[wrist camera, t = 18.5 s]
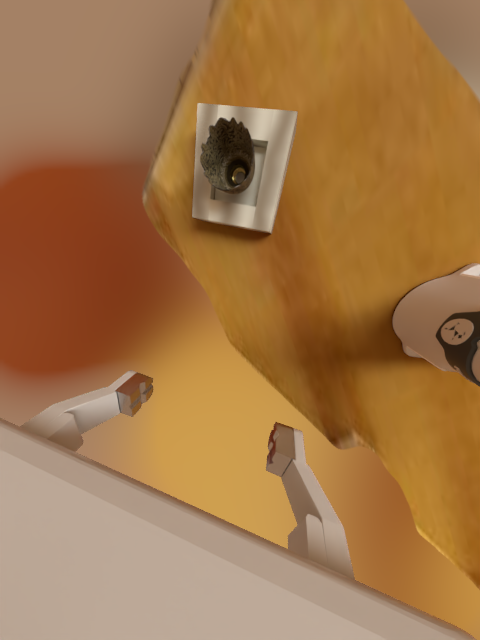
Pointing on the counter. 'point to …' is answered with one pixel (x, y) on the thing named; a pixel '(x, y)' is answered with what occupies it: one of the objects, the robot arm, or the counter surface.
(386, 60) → the counter surface
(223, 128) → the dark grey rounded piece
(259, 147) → the white recessed square tray
